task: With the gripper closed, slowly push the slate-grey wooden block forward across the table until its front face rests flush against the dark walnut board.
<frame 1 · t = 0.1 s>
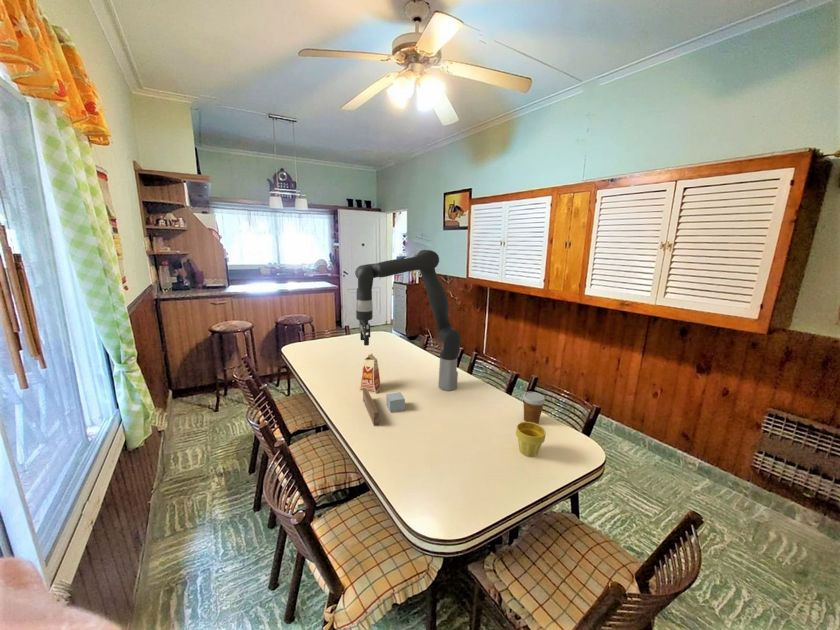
hand: (364, 342, 154), 29 cm above the table, tool pointing down, fingers open, 8 cm apart
disposable coffee cup: (531, 421, 146), on the table
block: (395, 408, 153), on the table
board: (370, 411, 149), on the table
milk carton: (370, 389, 171), on the table
plant pot: (528, 452, 124), on the table
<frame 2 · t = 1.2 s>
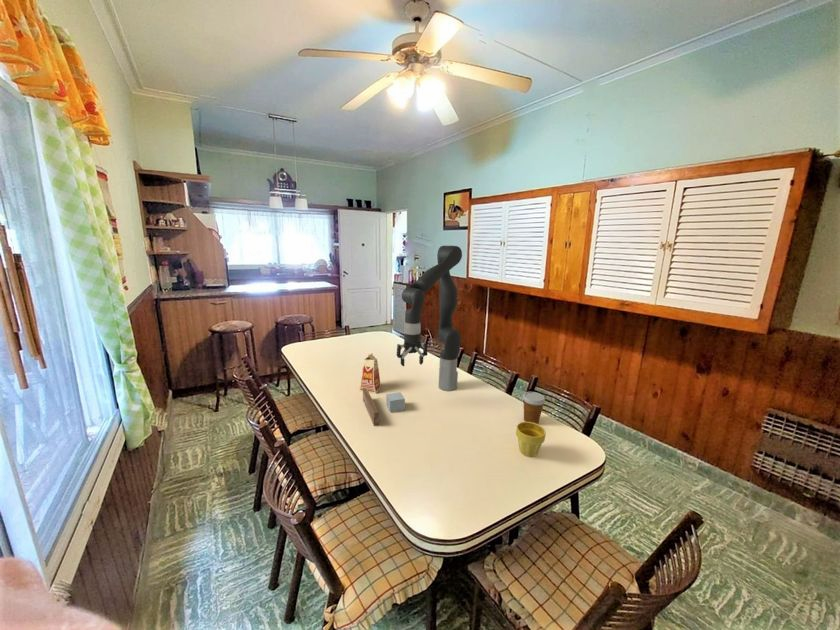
hand: (411, 364, 152), 20 cm above the table, tool pointing down, fingers open, 8 cm apart
nothing on the table moved.
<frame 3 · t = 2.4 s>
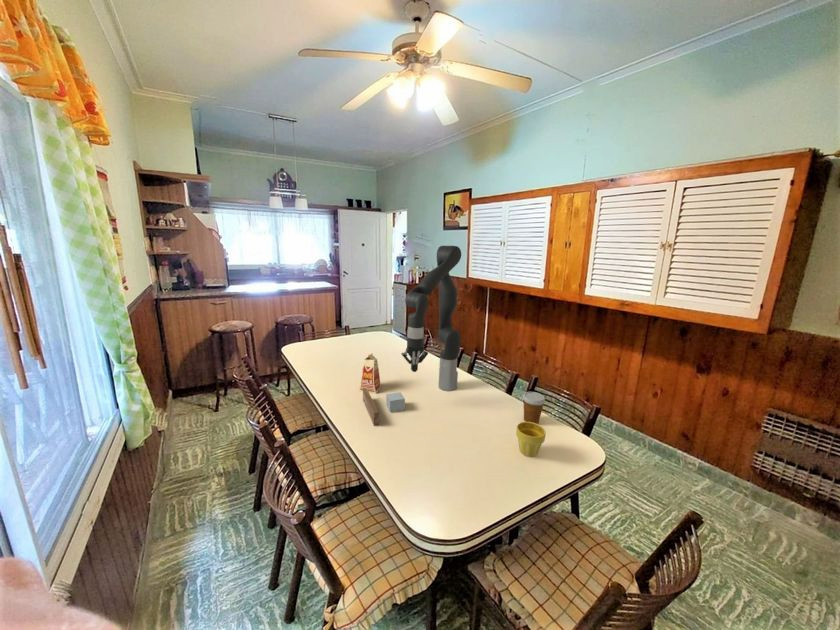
hand: (414, 371, 152), 17 cm above the table, tool pointing down, fingers closed
nothing on the table moved.
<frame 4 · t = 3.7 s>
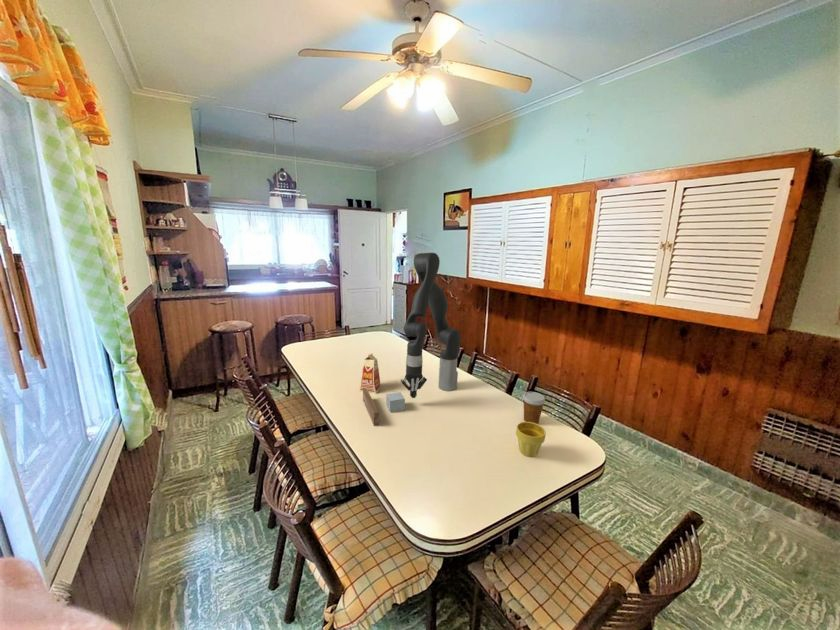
hand: (413, 397, 155), 4 cm above the table, tool pointing down, fingers closed
nothing on the table moved.
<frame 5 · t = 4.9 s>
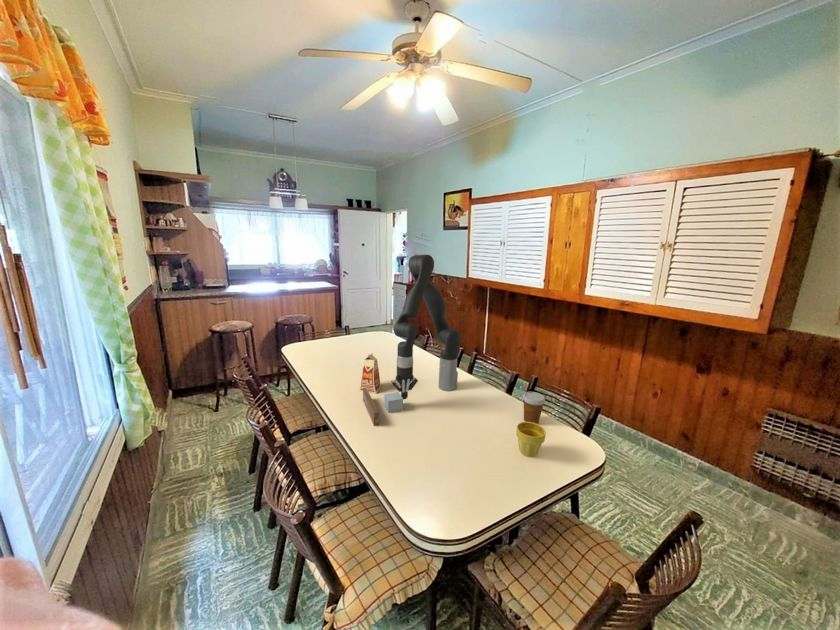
hand: (404, 398, 154), 4 cm above the table, tool pointing down, fingers closed
block: (393, 408, 153), on the table, touching gripper
everything else where it was.
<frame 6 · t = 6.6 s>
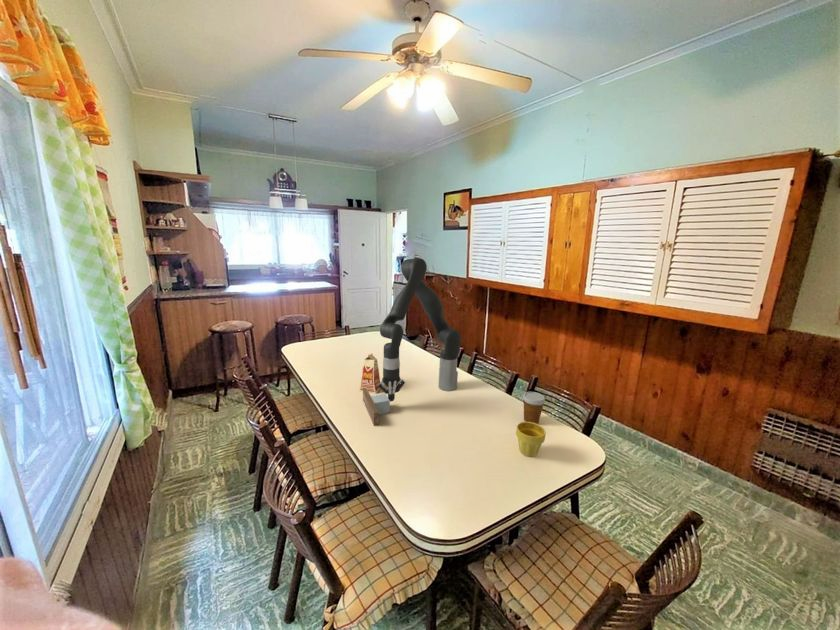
hand: (391, 400, 151), 4 cm above the table, tool pointing down, fingers closed
block: (379, 410, 150), on the table, touching board, gripper
everything else where it was.
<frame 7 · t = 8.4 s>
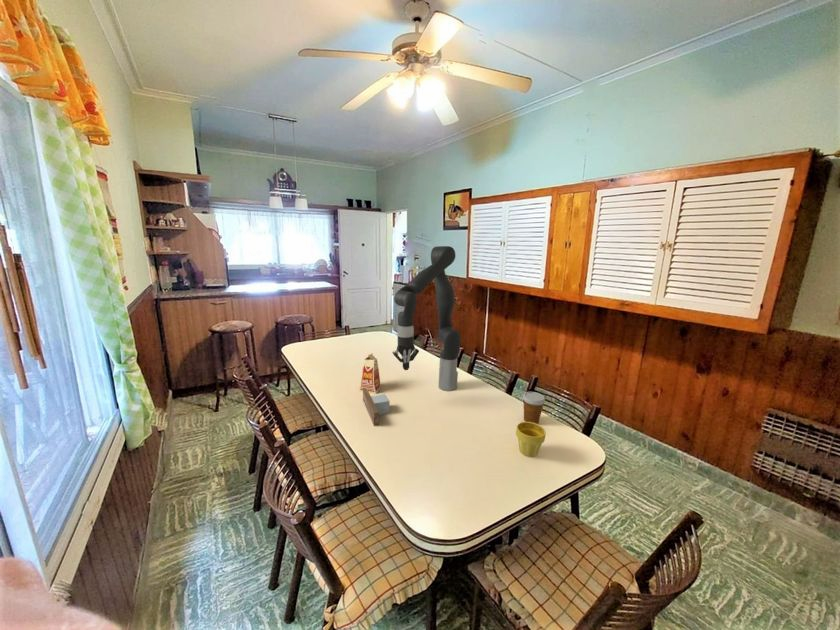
hand: (405, 369, 153), 18 cm above the table, tool pointing down, fingers closed
block: (379, 410, 150), on the table
everything else where it was.
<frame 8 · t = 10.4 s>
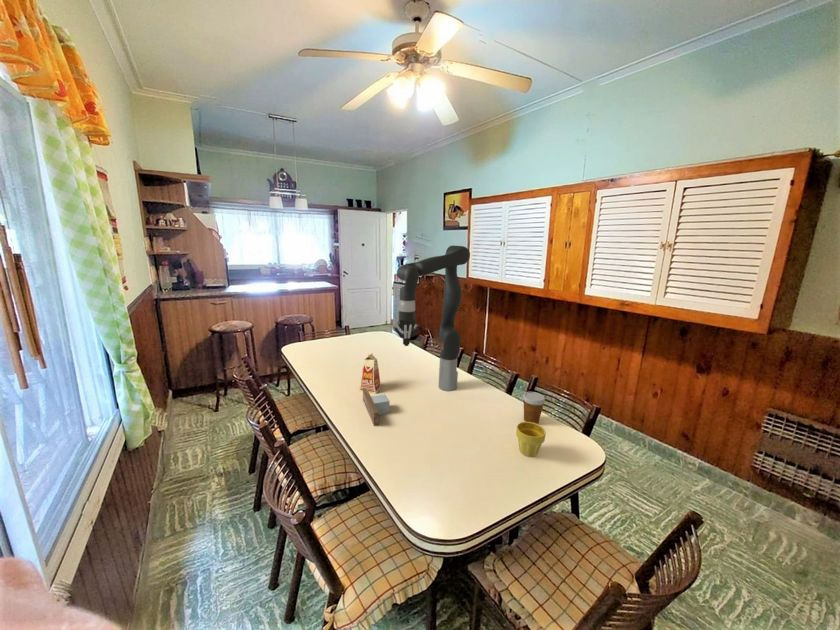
hand: (406, 345, 152), 29 cm above the table, tool pointing down, fingers closed
nothing on the table moved.
at the end: block inside the target area on the table beside the board (1.2 cm from its centre), on the table; block tilted 0°; the gripper is holding nothing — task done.
